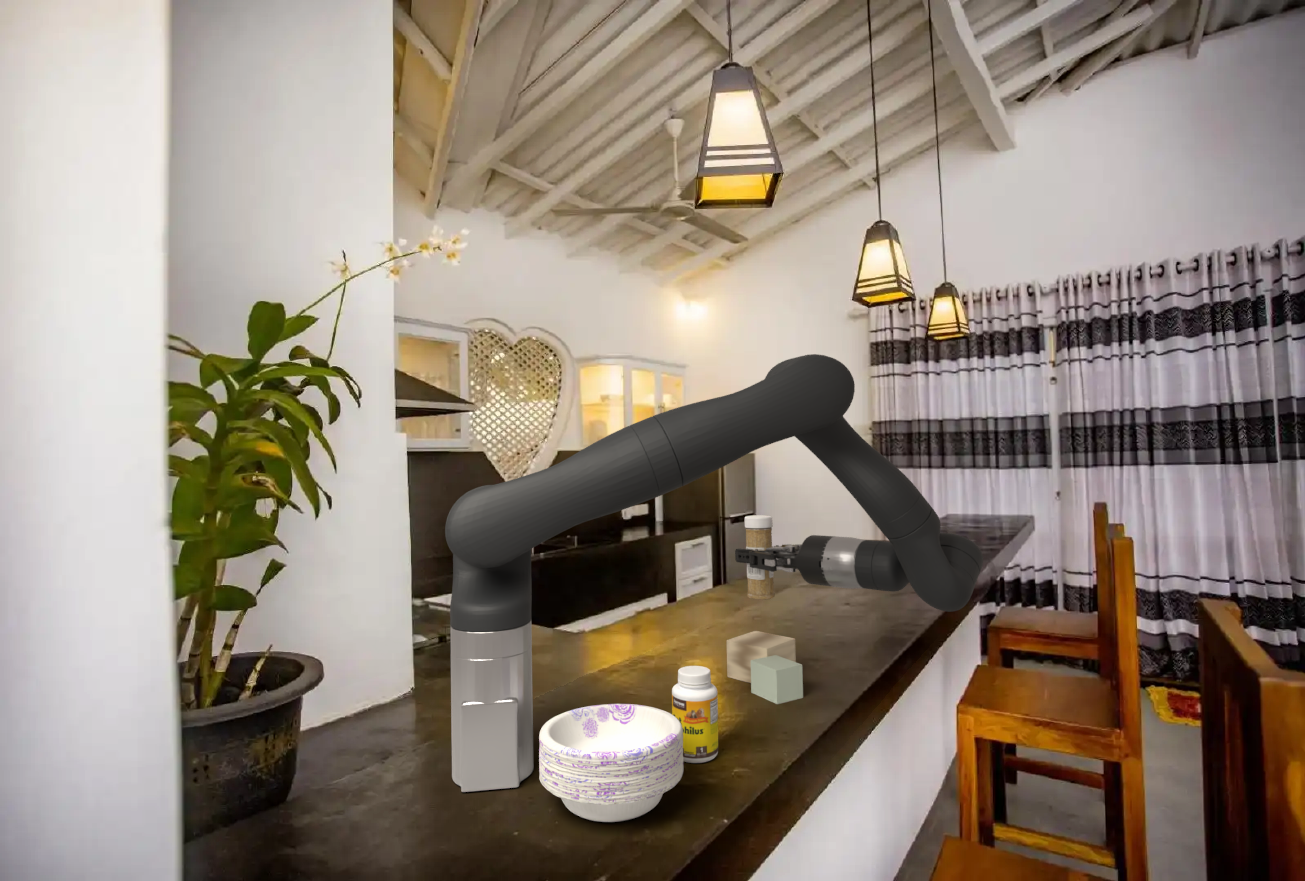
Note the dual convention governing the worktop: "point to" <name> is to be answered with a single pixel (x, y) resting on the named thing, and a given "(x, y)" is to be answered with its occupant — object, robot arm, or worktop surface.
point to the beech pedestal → (755, 652)
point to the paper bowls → (611, 759)
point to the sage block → (776, 679)
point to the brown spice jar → (761, 540)
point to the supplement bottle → (696, 713)
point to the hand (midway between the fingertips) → (745, 553)
